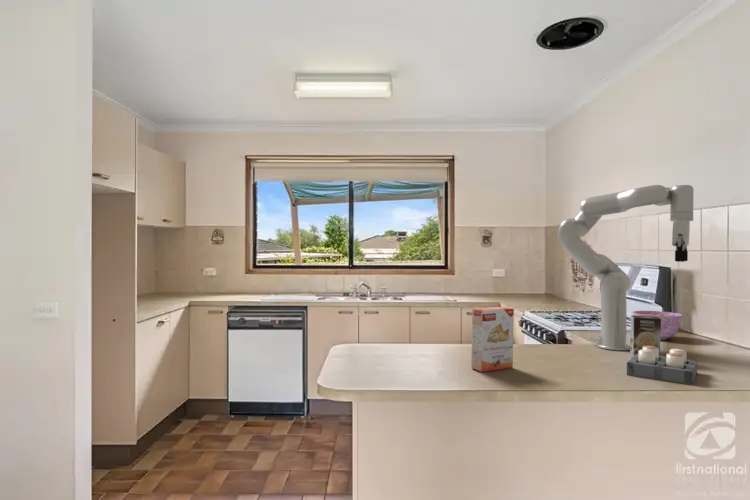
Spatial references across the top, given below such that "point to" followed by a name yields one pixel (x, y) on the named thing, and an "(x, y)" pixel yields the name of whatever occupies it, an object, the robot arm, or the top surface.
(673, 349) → the button far right
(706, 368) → the top surface
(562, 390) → the top surface
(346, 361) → the top surface
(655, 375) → the gray compartment tray
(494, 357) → the cracker box
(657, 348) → the button far left
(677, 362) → the button near right
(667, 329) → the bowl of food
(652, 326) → the coffee box
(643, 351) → the button near left
